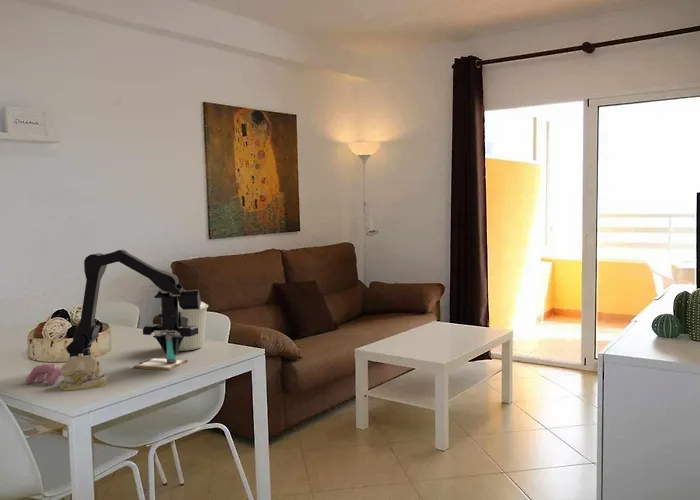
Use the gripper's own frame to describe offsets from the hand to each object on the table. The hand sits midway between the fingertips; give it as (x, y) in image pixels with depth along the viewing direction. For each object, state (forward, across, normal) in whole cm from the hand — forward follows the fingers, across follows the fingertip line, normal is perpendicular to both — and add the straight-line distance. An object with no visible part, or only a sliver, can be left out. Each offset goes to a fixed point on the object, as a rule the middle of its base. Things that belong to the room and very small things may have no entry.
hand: (171, 354), depth 212 cm
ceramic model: (+4, +14, +28) cm, 31 cm away
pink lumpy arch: (+4, +28, +28) cm, 40 cm away
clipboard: (+4, +4, 0) cm, 5 cm away
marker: (+2, 0, 0) cm, 3 cm away
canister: (+4, +9, -24) cm, 26 cm away
